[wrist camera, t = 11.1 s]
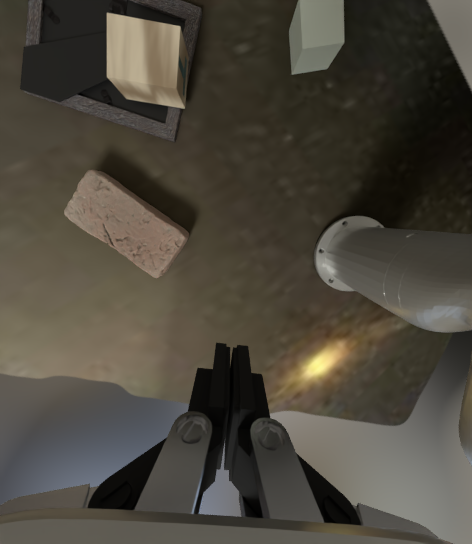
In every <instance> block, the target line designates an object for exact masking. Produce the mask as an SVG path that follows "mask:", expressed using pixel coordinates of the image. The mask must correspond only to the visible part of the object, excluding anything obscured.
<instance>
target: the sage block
mask: <svg viewBox="0 0 472 544" xmlns="http://www.w3.org/2000/svg"><path fill="white" fill-rule="evenodd" d="M289 40H290V54H291V69H292V74H299V73H305V72H311V71H318V70H324V69H328V67H329V65H330V64H331V62H332V61H333V59H334V58H335V56H336V55H337V53H338V52H339V50H340V48H341V47H342V45H343V44H344V0H298V3H297V7H296V10H295V13H294V16H293V20H292V23H291V26H290V29H289Z"/></svg>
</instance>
